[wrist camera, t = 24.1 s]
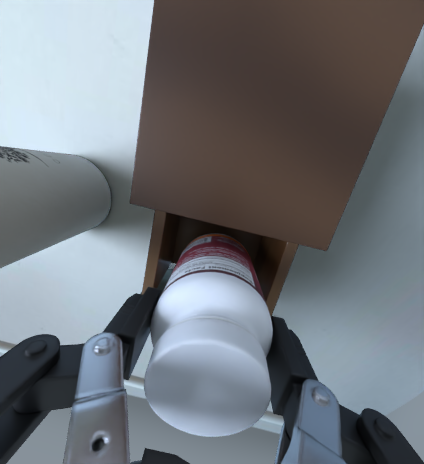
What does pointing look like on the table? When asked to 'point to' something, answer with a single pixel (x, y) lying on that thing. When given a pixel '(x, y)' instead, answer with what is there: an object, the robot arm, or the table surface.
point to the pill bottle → (210, 342)
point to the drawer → (186, 230)
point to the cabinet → (267, 109)
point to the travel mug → (47, 200)
